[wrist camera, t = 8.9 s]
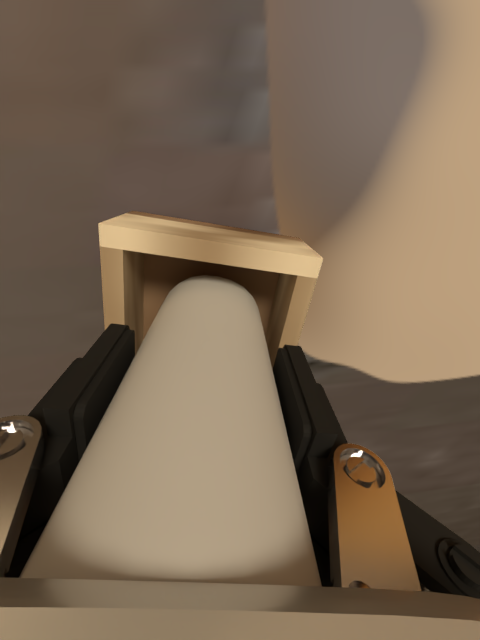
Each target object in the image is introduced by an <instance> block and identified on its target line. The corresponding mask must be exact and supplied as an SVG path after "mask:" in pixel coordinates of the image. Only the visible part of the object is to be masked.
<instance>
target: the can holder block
mask: <svg viewBox="0 0 480 640" xmlns="http://www.w3.org/2000/svg"><path fill="white" fill-rule="evenodd" d="M98 224H99V240H100V257H101V274H102V290H103V307H104V323H105V330H106V329H107V327H108V326H109V325H110V324H111V323H113V324H122V325H128V326H129V328H130V330H134V331H135V355H136V353H137V351H138V349H139V347H140V345H141V343H142V341H143V340H144V338H145V336H146V334H147V332H148V330H149V328H150V326H151V324H152V322H153V321H154V319H155V317H156V315H157V313H158V311H159V309H160V307H161V305H162V304H163V302H164V300H165V298H166V297H167V295H168V293H169V292H170V291H171V290H172V289H173V288H174V287H175V286H176V285H177V284H179V283H180V282H182V281H184V280H186V279H188V278H191V277H195V276H202V275H208V276H218V277H222V278H225V279H229V280H232V281H234V282H236V283H237V284H239V285H241V286H243V287H244V288H245V289H246V290H247V291H248V292H249V293H250V294H251V295H252V296H253V298H254V300H255V302H256V304H257V306H258V309H259V313H260V318H261V322H262V326H263V331H264V335H265V339H266V344H267V348H268V353H269V357H270V361H271V366H272V370H273V366H274V362H275V358H276V355H277V351H278V349H279V348H283V347H284V345H285V344H286V345H294V346H297V345H298V341H299V338H300V334H301V331H302V328H303V324H304V321H305V318H306V314H307V311H308V308H309V304H310V301H311V298H312V294H313V291H314V288H315V284H316V281H317V278H318V275H319V271H320V268H321V264H322V261H323V258H322V257H321V256H320V255H319V254H317V253H316V252H315V251H314V250H313V249H311V248H310V247H309V246H308V245H307V244H306V243H305V242H303V241H302V240H301V239H300V238H297V237H290V236H284V235H278V234H272V233H266V232H260V231H254V230H247V229H241V228H235V227H229V226H223V225H217V224H211V223H204V222H198V221H192V220H186V219H180V218H174V217H168V216H161V215H155V214H149V213H143V212H137V211H131V212H128V213H125V214H123V215H120V216H117V217H115V218H112V219H109V220H106V221H104V222H101V223H98Z"/></svg>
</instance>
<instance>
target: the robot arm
mask: <svg viewBox="0 0 480 640" xmlns="http://www.w3.org/2000/svg"><path fill="white" fill-rule="evenodd" d="M134 357H135V331H134V330H130V328H129V326H128V325H122V324H113V323H111V324H110V325H109V326H108V327H107V329H106V330H105V331H104V332H103V334H102V335H101V336H100V337H99V338H98V340H97V341H96V342H95V343H94V345H93V346H92V347H91V348H90V350H89V351H88V352H87V353H86V355H85V356H84V357H83V358H77V359H76V360H74V361H73V362H72V364H71V365H70V366H69V367H68V368H67V370H66V371H65V372H64V373H63V374H62V376H61V377H60V378H59V379H58V380H57V381H56V383H55V384H54V385H53V386H52V387H51V389H50V390H49V391H48V392H47V393H46V394H45V396H44V397H43V398H42V399H41V400H40V402H39V403H38V404H37V405H36V406H35V408H34V409H33V410H32V411H31V412H30V413H29V415H28V416H26V415H13V416H7V417H2V418H0V640H480V553H479V552H478V551H477V550H476V549H475V548H474V547H472V546H471V545H470V544H469V543H467V542H466V541H465V540H463V539H462V538H460V537H459V536H458V535H456V534H455V533H454V532H452V531H451V530H449V529H448V528H447V527H445V526H444V525H442V524H441V523H440V522H438V521H437V520H436V519H434V518H433V517H431V516H430V515H429V514H427V513H426V512H425V511H423V510H422V509H420V508H419V507H418V506H416V505H415V504H413V503H412V502H411V501H409V500H408V499H407V498H405V497H404V496H402V495H401V494H400V493H398V492H397V491H396V490H395V488H394V484H393V480H392V476H391V474H390V472H389V469H388V468H387V466H386V465H385V463H384V462H383V461H382V460H381V459H380V458H379V457H378V456H377V455H376V454H375V453H373V452H372V451H370V450H369V449H367V448H365V447H363V446H360V445H357V444H352V443H347V440H346V438H345V436H344V434H343V431H342V429H341V427H340V425H339V423H338V420H337V418H336V416H335V414H334V411H333V409H332V407H331V405H330V403H329V400H328V398H327V396H326V394H325V391H324V389H323V387H322V386H321V385H320V384H318V383H316V381H315V379H314V376H313V374H312V372H311V369H310V367H309V365H308V362H307V360H306V358H305V355H304V353H303V351H302V348H301V347H300V346H294V345H286V344H285V345H284V347H283V348H279V349H278V351H277V355H276V358H275V362H274V366H273V374H274V379H275V383H276V388H277V392H278V396H279V401H280V405H281V409H282V414H283V418H284V423H285V427H286V431H287V436H288V440H289V444H290V449H291V453H292V458H293V462H294V466H295V471H296V475H297V479H298V484H299V488H300V493H301V497H302V501H303V506H304V510H305V514H306V519H307V523H308V528H309V532H310V536H311V541H312V545H313V549H314V554H315V558H316V563H317V567H318V571H319V576H320V580H321V584H322V587H317V586H288V585H260V584H228V583H194V582H160V581H125V580H88V579H46V578H19V576H20V574H21V572H22V570H23V568H24V567H25V565H26V563H27V561H28V559H29V557H30V555H31V553H32V551H33V549H34V548H35V546H36V544H37V542H38V540H39V538H40V536H41V534H42V532H43V530H44V528H45V527H46V525H47V523H48V521H49V519H50V517H51V515H52V513H53V511H54V509H55V507H56V506H57V504H58V502H59V500H60V498H61V496H62V494H63V492H64V490H65V488H66V486H67V485H68V483H69V481H70V479H71V477H72V475H73V473H74V471H75V469H76V467H77V465H78V464H79V462H80V460H81V458H82V456H83V454H84V452H85V450H86V448H87V446H88V444H89V443H90V441H91V439H92V437H93V435H94V433H95V431H96V429H97V427H98V425H99V423H100V422H101V420H102V418H103V416H104V414H105V412H106V410H107V408H108V406H109V404H110V403H111V401H112V399H113V397H114V395H115V393H116V391H117V389H118V387H119V385H120V383H121V382H122V380H123V378H124V376H125V374H126V372H127V370H128V368H129V366H130V364H131V362H132V361H133V359H134Z"/></svg>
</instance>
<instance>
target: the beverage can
mask: <svg viewBox="0 0 480 640" xmlns="http://www.w3.org/2000/svg"><path fill="white" fill-rule="evenodd" d="M19 578H46V579H88V580H125V581H160V582H194V583H228V584H260V585H288V586H317V587H322V584H321V580H320V576H319V571H318V567H317V563H316V558H315V554H314V549H313V545H312V541H311V536H310V532H309V528H308V523H307V519H306V514H305V510H304V506H303V501H302V497H301V493H300V488H299V484H298V479H297V475H296V471H295V466H294V462H293V458H292V453H291V449H290V444H289V440H288V436H287V431H286V427H285V423H284V418H283V414H282V409H281V405H280V401H279V396H278V392H277V388H276V383H275V379H274V374H273V370H272V366H271V361H270V357H269V353H268V348H267V344H266V339H265V335H264V331H263V326H262V322H261V318H260V313H259V309H258V306H257V304H256V302H255V300H254V298H253V296H252V295H251V294H250V293H249V292H248V291H247V290H246V289H245V288H244V287H243V286H241V285H239V284H237V283H236V282H234V281H232V280H229V279H225V278H222V277H218V276H208V275H202V276H195V277H191V278H188V279H186V280H184V281H182V282H180V283H179V284H177V285H176V286H175V287H174V288H173V289H172V290H171V291H170V292H169V293H168V295H167V297H166V298H165V300H164V302H163V304H162V305H161V307H160V309H159V311H158V313H157V315H156V317H155V319H154V321H153V322H152V324H151V326H150V328H149V330H148V332H147V334H146V336H145V338H144V340H143V341H142V343H141V345H140V347H139V349H138V351H137V353H136V355H135V357H134V359H133V361H132V362H131V364H130V366H129V368H128V370H127V372H126V374H125V376H124V378H123V380H122V382H121V383H120V385H119V387H118V389H117V391H116V393H115V395H114V397H113V399H112V401H111V403H110V404H109V406H108V408H107V410H106V412H105V414H104V416H103V418H102V420H101V422H100V423H99V425H98V427H97V429H96V431H95V433H94V435H93V437H92V439H91V441H90V443H89V444H88V446H87V448H86V450H85V452H84V454H83V456H82V458H81V460H80V462H79V464H78V465H77V467H76V469H75V471H74V473H73V475H72V477H71V479H70V481H69V483H68V485H67V486H66V488H65V490H64V492H63V494H62V496H61V498H60V500H59V502H58V504H57V506H56V507H55V509H54V511H53V513H52V515H51V517H50V519H49V521H48V523H47V525H46V527H45V528H44V530H43V532H42V534H41V536H40V538H39V540H38V542H37V544H36V546H35V548H34V549H33V551H32V553H31V555H30V557H29V559H28V561H27V563H26V565H25V567H24V568H23V570H22V572H21V574H20V576H19Z"/></svg>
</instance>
